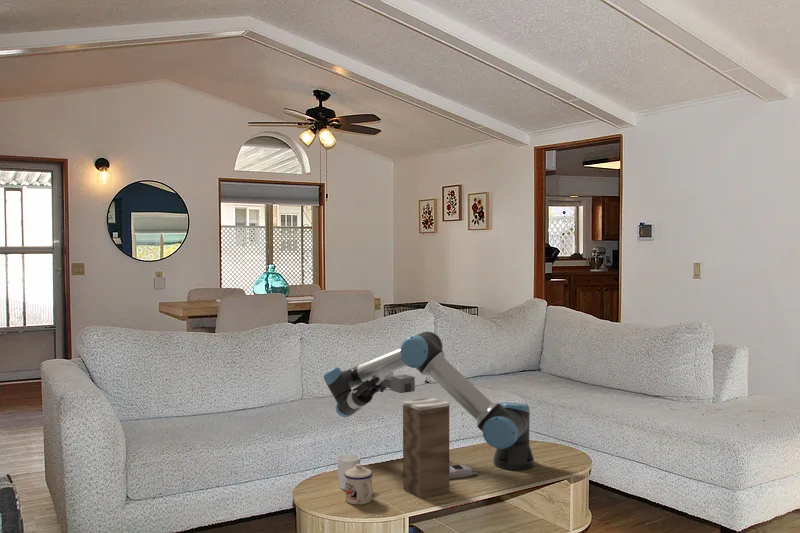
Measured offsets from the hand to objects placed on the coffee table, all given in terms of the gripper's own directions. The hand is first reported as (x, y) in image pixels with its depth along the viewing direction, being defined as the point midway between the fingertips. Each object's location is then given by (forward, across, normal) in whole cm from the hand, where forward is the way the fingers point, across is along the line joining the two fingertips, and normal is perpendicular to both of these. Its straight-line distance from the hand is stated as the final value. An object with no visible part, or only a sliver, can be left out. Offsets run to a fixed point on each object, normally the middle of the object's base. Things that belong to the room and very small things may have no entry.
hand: (388, 374), depth 252 cm
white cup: (-14, +19, -34) cm, 41 cm away
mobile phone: (-5, -13, -39) cm, 41 cm away
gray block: (-1, 0, -5) cm, 5 cm away
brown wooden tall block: (+2, 0, -42) cm, 43 cm away
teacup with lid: (-2, +23, -41) cm, 47 cm away
